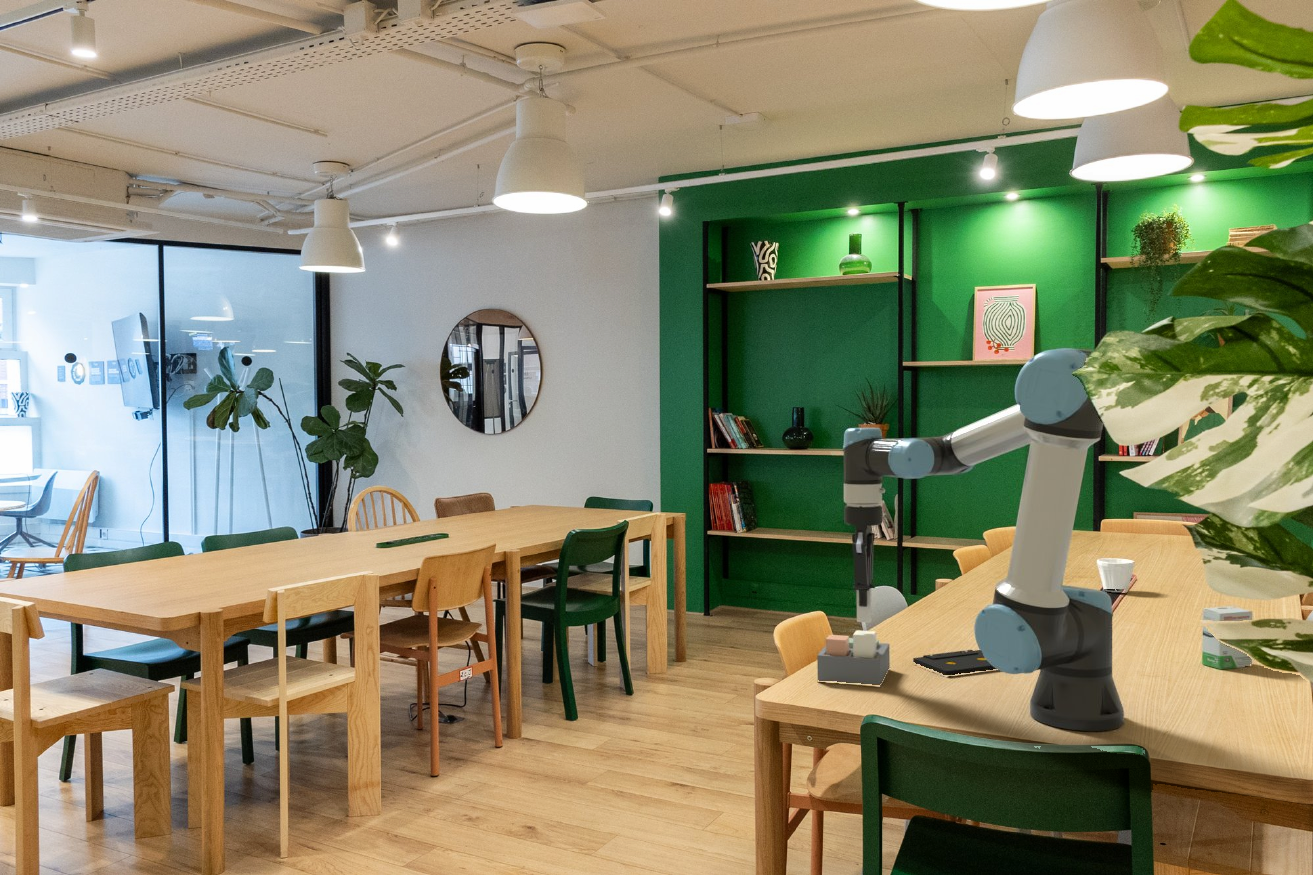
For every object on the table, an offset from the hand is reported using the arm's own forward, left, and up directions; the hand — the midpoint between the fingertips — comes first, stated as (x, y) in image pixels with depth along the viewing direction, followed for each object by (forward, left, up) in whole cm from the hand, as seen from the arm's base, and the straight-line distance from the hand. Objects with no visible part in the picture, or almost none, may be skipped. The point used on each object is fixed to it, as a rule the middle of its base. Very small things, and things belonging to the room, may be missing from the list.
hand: (864, 621), depth 197 cm
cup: (+116, -55, -12) cm, 129 cm away
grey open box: (+3, +3, -12) cm, 13 cm away
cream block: (0, 0, -8) cm, 8 cm away
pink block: (0, +5, -10) cm, 11 cm away
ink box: (+34, -70, -12) cm, 79 cm away
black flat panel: (+18, -18, -13) cm, 29 cm away
